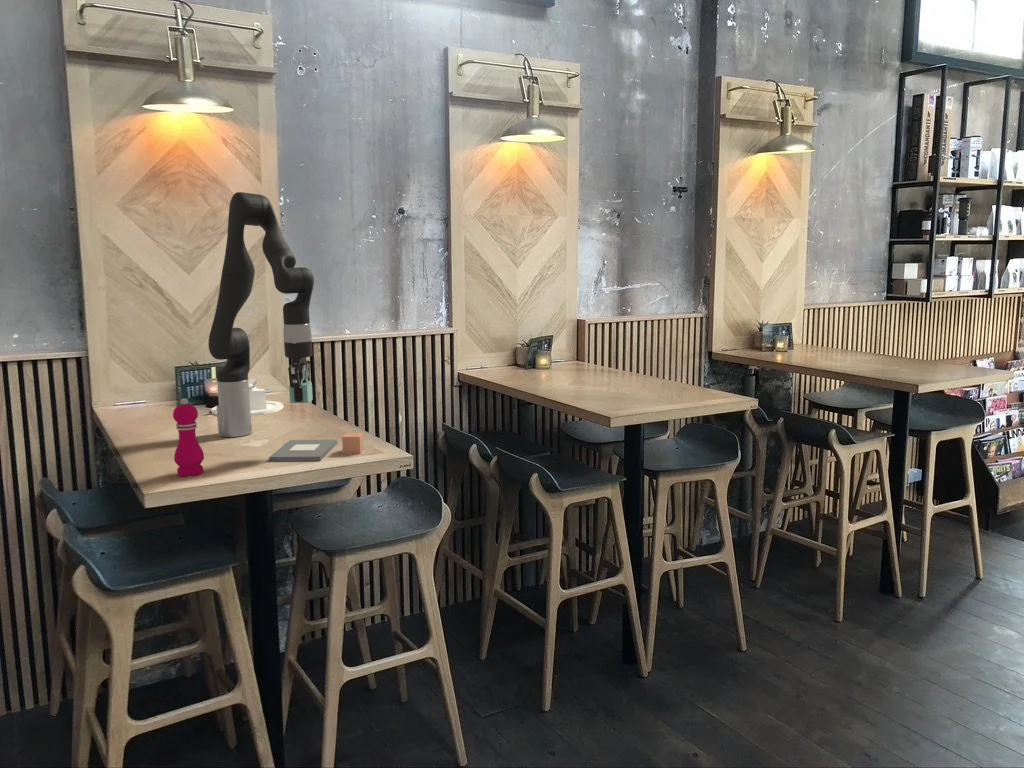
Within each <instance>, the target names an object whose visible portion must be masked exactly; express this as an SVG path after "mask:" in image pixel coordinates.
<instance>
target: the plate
mask: <svg viewBox="0 0 1024 768" xmlns="http://www.w3.org/2000/svg"><path fill="white" fill-rule="evenodd" d="M337 445H338V439H290V440H288V441H287V442H286V443H285V444H284V445H283V444H282V446H281V447H280V448H279V449H277V450H276V451H275V452H273V453H272V454H271V455H270V456H269V457H268V458H269V459H268V460H269V462H321V461H322V460H323V459H324V458H325V456H327V455H326V454H329V453H330V452H331V450H333V449H334V447H335V446H337Z"/></svg>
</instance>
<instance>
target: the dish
mask: <svg viewBox="0 0 1024 768" xmlns="http://www.w3.org/2000/svg"><path fill="white" fill-rule="evenodd" d="M248 382H249V396H250V411H251V417H255V416H261V415H266V414H272V413H276V412H279V411H281V410H283V408H285V407H284V403H282V402H280V401H275V400H267V397H266V395H267V394H266V393H267V392H266V389H261V388H258V387H257V385H258V383H259V379H257V378H252V379H248ZM217 406H218V405H216V406H214V407H212V408H210V409H211V410H210V411H211V414H212V415H214V416H217Z"/></svg>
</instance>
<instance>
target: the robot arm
mask: <svg viewBox="0 0 1024 768" xmlns="http://www.w3.org/2000/svg"><path fill="white" fill-rule="evenodd" d="M227 218H228V221H227V236H226V245H225V251H224V252H225V254H224V259H223V265H222V270H221V274H220V275H221V276H220V284H219V292H218V297H217V302H216V309H215V313H214V317H213V321H212V324H211V327H210V332H209V335H208V350H209V353H210V355H211V357H212V358H214V359H215V360H223V361H224V360H226V362H225V364H224V366H223V367H222V368H221V369H219V370H218V371H217V372H216V383H217V384H216V385H217V395H218V396H217V397H218V398H217V399H218V405H216V406H217V415H216V417H217V430H218V437H226V438H235V437H245V436H248V435H251V434H253V428H252V427H253V426H252V416H251V411H250V396H249V382H248V381H249V373H250V369H251V361H250V360H251V355H250V354H251V353H250V352H251V351H250V346H251V345H250V341H249V340H250V339H249V336H248V334H247V333H246V331H245V330H244V329H243V328H241V327H234V324H235V321H236V318H237V316H238V314H239V312H240V311H241V309H242V308H243V306H244V305H245V303H246V302H247V300H248V299H249V297H250V295H251V293H252V290H253V286H254V285H253V284H254V279H255V274H256V273H255V272H256V271H255V269H256V268H255V265H254V262H253V261H252V258H251V256H250V253H249V251H248V249H247V247H246V243H245V237H244V236H245V226H253V227H261V228H262V229H263V231H264V232H265V233H264V236H263V240H262V245H261V246H262V247H261V248H262V251H263V255H264V256H265V258H266V260H267V262H268V263H269V266H270V267H271V270H272V275H273V283H274V286H275V287H274V288H275V289H276V290H277V291H278V292H279V293H281V294H284V295H289V294H290V295H291V294H297V296H296V297H295V299H294V300H293V301H289V302H285V303H284V304H283V306H282V314H283V316H282V318H283V348H284V357H285V358H288V359H291V364H290V366H289V367H287V370H288V372H287V373H288V377H289V384H290V386H291V388H293V389H294V400H295V402H302V401H303V393H302V382H311V362H310V360H308V359H307V358H310V357H312V356H313V340H312V329H311V323H310V322H311V320H310V304H311V299H312V294H313V289H314V286H315V285H314V284H315V279H314V278H315V277H314V274H313V273H312V271H311V270H310V269H309V268H308V267H304V266H302V267H295V266H296V263H297V259H296V257H295V255H294V253H293V251H292V250H291V248H290V246H289V245H288V242H287V241H286V239H285V237H284V235H283V233H282V230H281V227H280V224H279V222H278V218H277V215H276V212H275V210H274V208H273V205H272V203H271V200H269V198H268V197H267V196H265V195H263V194H259V193H258V194H257V193H251V192H243V191H237V192H235V193H233V194H232V196H231V199H230V201H229V208H228V217H227ZM295 382H297V383H295Z"/></svg>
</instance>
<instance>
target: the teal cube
mask: <svg viewBox="0 0 1024 768" xmlns="http://www.w3.org/2000/svg"><path fill="white" fill-rule="evenodd" d="M295 383H297V381H296V382H295ZM312 383H313V382H312V381H308V382H302V393H303V401H302V402H295V400H294V389H293V388H291V386H290V385H289V386H288V387H289V390H288V391H289V401H290V402H289V403H290V404H309V403H310V402H312V401H313V400H314V399H313V384H312Z"/></svg>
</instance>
